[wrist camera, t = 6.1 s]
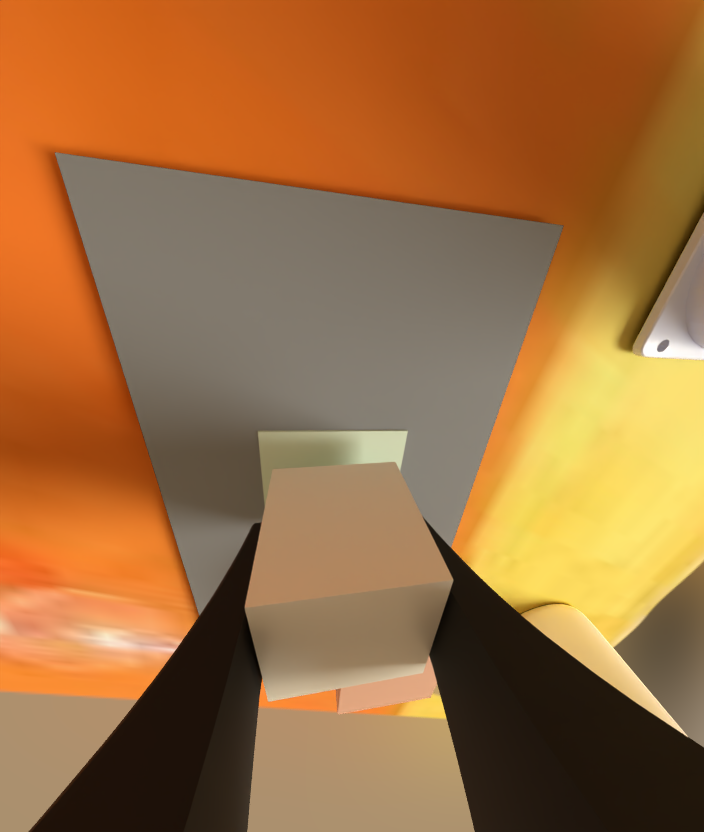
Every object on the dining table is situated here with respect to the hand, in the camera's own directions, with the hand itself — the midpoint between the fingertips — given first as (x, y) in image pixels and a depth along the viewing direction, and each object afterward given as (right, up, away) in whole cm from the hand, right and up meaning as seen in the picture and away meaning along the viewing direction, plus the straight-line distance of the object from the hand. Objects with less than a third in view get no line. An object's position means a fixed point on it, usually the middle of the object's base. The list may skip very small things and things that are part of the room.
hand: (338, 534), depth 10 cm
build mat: (0, +1, +3) cm, 3 cm away
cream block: (0, 0, +1) cm, 1 cm away
